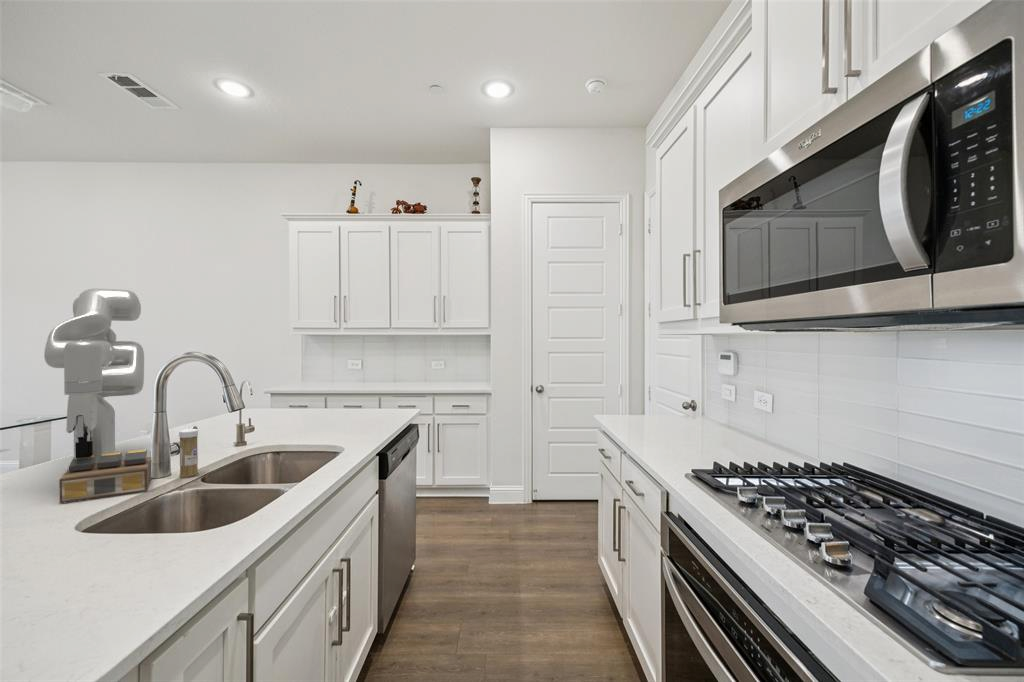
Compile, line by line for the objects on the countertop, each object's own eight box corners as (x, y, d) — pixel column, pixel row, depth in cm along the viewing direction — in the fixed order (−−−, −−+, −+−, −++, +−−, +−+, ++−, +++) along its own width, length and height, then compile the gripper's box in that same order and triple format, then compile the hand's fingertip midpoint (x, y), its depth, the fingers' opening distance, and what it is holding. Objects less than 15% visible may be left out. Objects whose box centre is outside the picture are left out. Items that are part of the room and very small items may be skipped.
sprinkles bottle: (193, 477, 138) (192, 431, 138) (176, 478, 138) (175, 431, 137) (201, 472, 143) (200, 428, 142) (184, 473, 142) (184, 428, 142)
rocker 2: (101, 461, 130) (101, 454, 129) (122, 459, 132) (121, 451, 132) (97, 470, 125) (97, 462, 124) (119, 468, 127) (118, 460, 127)
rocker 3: (127, 458, 133) (126, 451, 132) (147, 456, 135) (146, 449, 135) (124, 467, 128) (124, 459, 127) (145, 465, 130) (144, 457, 130)
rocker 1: (74, 464, 127) (73, 456, 126) (96, 462, 129) (95, 454, 129) (69, 474, 122) (68, 466, 121) (91, 471, 124) (91, 463, 124)
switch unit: (72, 488, 128) (72, 465, 128) (151, 477, 138) (151, 457, 138) (59, 504, 116) (58, 479, 116) (146, 491, 126) (146, 469, 125)
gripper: (71, 386, 131) (71, 453, 131) (57, 391, 118) (58, 465, 119) (106, 384, 135) (107, 449, 135) (97, 389, 123) (97, 460, 123)
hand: (84, 456), depth 127 cm, fingers closed
